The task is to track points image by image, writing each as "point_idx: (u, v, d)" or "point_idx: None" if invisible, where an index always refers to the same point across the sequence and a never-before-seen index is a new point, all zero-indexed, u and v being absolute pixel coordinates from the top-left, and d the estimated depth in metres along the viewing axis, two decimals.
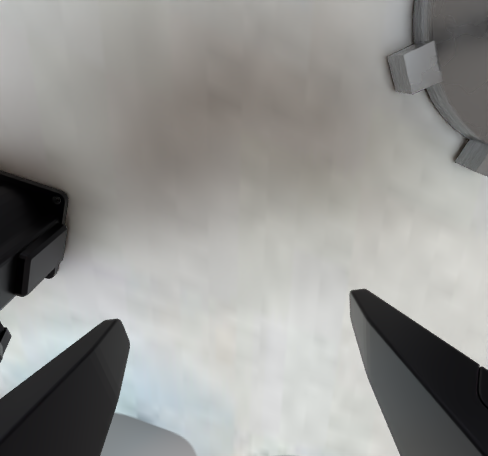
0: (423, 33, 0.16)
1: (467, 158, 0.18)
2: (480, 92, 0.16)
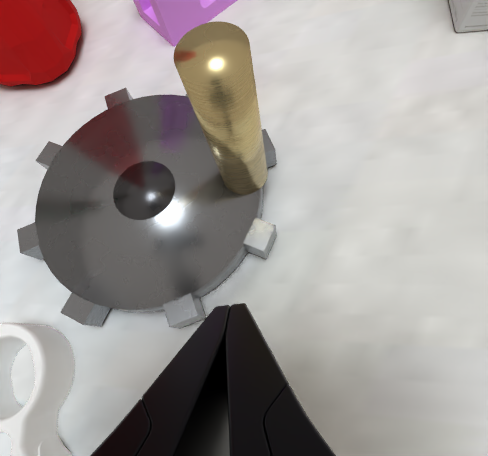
0: (162, 307, 0.21)
1: (259, 253, 0.22)
2: (202, 262, 0.21)
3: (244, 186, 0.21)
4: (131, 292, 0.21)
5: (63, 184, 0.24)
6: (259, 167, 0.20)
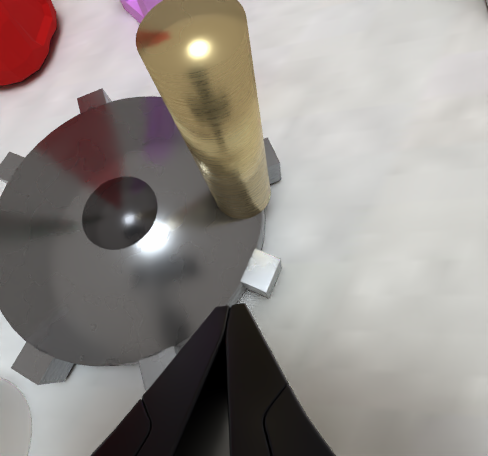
0: None
1: (260, 292, 0.17)
2: (188, 306, 0.16)
3: (241, 210, 0.17)
4: (99, 343, 0.16)
5: (23, 204, 0.20)
6: (260, 187, 0.15)
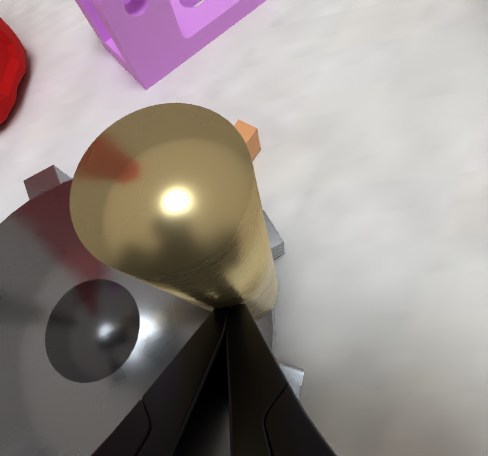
0: None
1: None
2: None
3: None
4: None
5: None
6: (271, 296, 0.12)
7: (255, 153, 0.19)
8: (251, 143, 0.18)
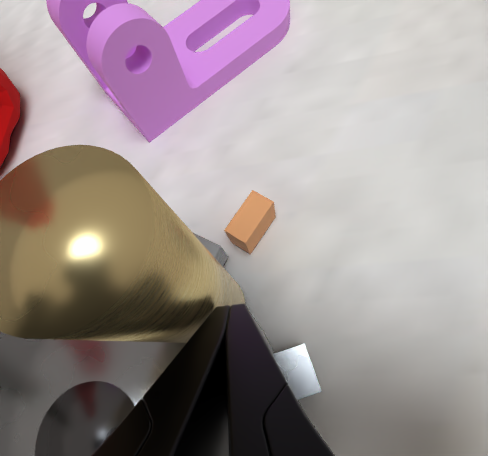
0: None
1: None
2: None
3: None
4: None
5: None
6: (236, 295, 0.12)
7: (270, 222, 0.17)
8: (266, 216, 0.16)
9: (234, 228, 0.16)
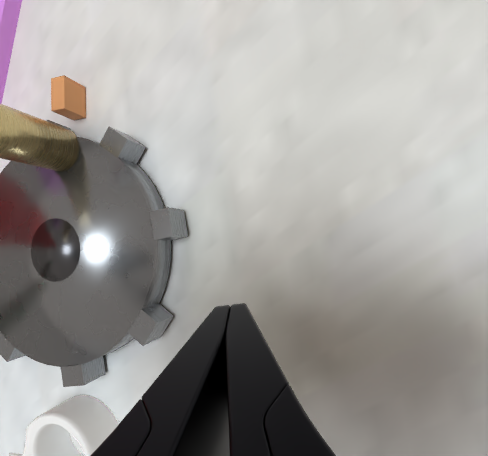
0: (162, 246, 0.22)
1: (135, 149, 0.23)
2: (126, 198, 0.22)
3: (65, 145, 0.22)
4: (138, 270, 0.21)
5: (34, 333, 0.24)
6: (44, 123, 0.21)
7: (82, 92, 0.26)
8: (70, 87, 0.25)
9: (55, 105, 0.24)
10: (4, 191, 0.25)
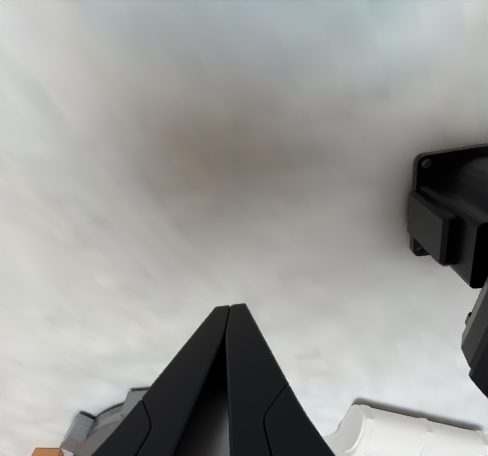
0: None
1: (79, 424, 0.28)
2: None
3: None
4: None
5: None
6: None
7: (39, 451, 0.32)
8: None
9: None
10: None
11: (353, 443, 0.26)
